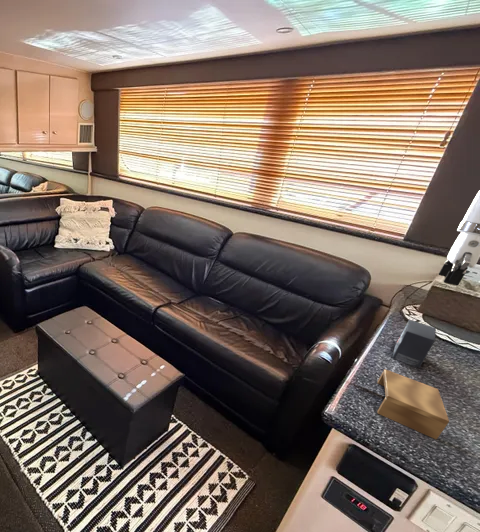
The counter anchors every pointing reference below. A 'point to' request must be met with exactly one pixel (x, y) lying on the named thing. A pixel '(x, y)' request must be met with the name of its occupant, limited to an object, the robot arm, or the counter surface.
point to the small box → (414, 343)
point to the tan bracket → (413, 404)
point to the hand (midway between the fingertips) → (447, 279)
